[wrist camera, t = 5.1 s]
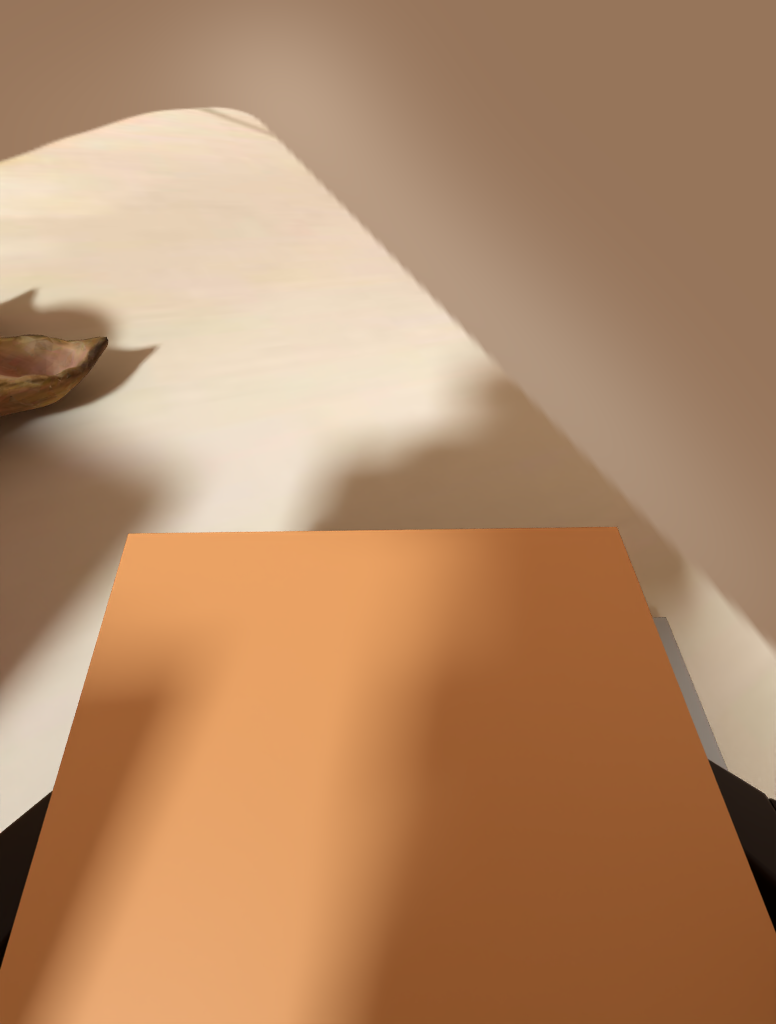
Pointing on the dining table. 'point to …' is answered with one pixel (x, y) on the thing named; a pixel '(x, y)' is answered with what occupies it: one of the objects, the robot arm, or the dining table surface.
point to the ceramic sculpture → (43, 369)
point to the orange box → (385, 797)
